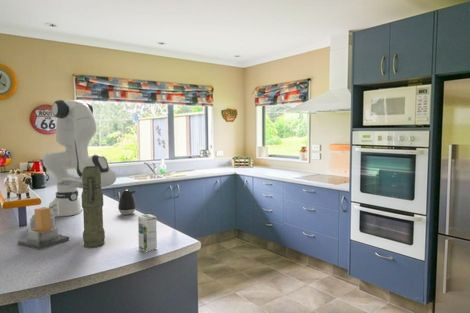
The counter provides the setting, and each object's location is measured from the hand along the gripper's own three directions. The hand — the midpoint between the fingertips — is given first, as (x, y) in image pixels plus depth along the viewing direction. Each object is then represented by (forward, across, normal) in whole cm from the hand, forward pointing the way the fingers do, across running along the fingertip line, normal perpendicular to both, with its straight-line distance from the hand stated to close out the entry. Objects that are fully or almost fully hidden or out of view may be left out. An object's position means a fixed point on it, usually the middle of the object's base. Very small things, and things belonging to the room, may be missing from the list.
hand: (63, 185), depth 157 cm
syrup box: (-3, +51, +23) cm, 56 cm away
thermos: (+3, +25, +24) cm, 35 cm away
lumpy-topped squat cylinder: (0, -18, +26) cm, 31 cm away
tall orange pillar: (+11, +1, +23) cm, 26 cm away
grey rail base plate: (+11, +1, +25) cm, 27 cm away
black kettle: (-44, -4, +25) cm, 51 cm away
